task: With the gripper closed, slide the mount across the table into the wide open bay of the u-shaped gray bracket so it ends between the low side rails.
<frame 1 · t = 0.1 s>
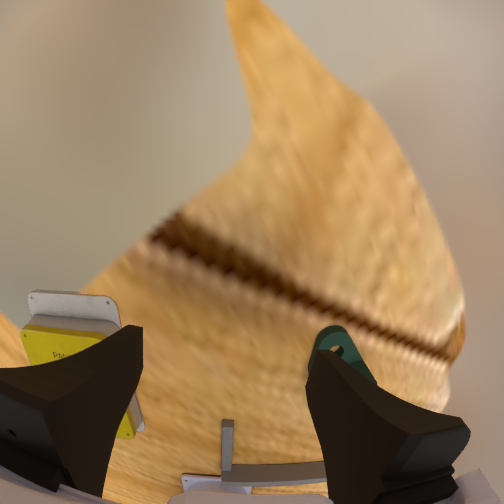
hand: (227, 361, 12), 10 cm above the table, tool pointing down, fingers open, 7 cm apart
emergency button: (88, 365, 24), on the table
mount: (334, 376, 25), on the table
u-shaped gray bracket: (317, 437, 26), on the table
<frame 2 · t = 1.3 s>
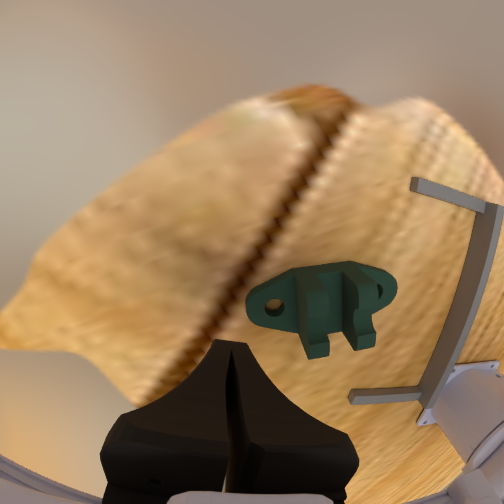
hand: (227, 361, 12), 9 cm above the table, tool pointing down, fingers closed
mount: (321, 292, 22), on the table
u-shaped gray bracket: (413, 304, 22), on the table
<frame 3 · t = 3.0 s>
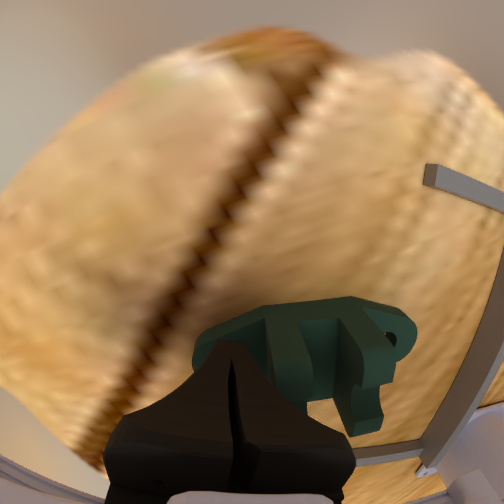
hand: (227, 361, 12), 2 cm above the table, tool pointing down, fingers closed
mount: (307, 340, 15), on the table, touching gripper
u-shaped gray bracket: (421, 347, 15), on the table
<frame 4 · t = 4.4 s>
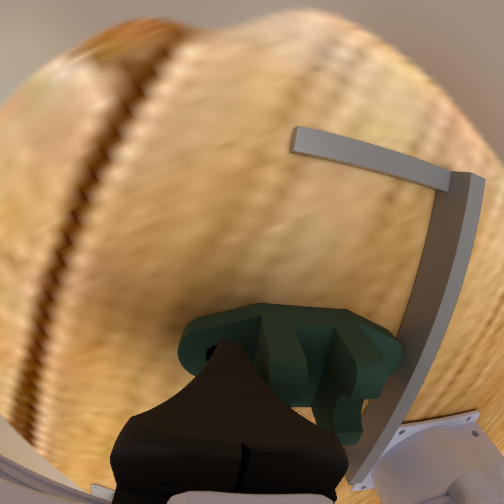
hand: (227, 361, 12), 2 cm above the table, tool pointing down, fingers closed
mount: (295, 346, 15), on the table, touching gripper, u-shaped gray bracket
u-shaped gray bracket: (316, 344, 14), on the table
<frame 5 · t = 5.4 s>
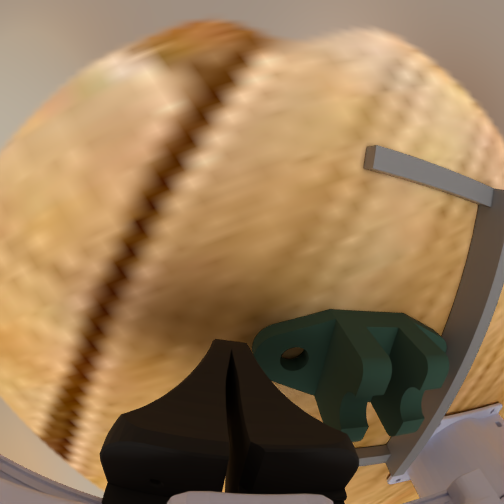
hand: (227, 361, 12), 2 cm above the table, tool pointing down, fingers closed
mount: (355, 346, 15), on the table
u-shaped gray bracket: (375, 346, 15), on the table
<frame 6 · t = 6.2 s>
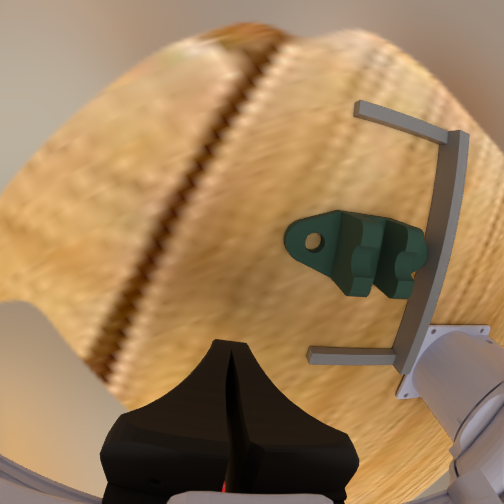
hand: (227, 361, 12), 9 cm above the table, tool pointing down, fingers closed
mount: (357, 243, 21), on the table
u-shaped gray bracket: (372, 243, 21), on the table
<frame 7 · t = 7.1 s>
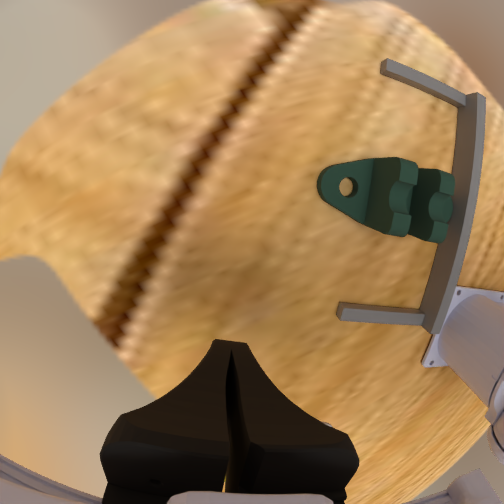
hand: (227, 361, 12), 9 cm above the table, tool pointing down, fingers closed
mount: (386, 195, 20), on the table
u-shaped gray bracket: (401, 195, 20), on the table
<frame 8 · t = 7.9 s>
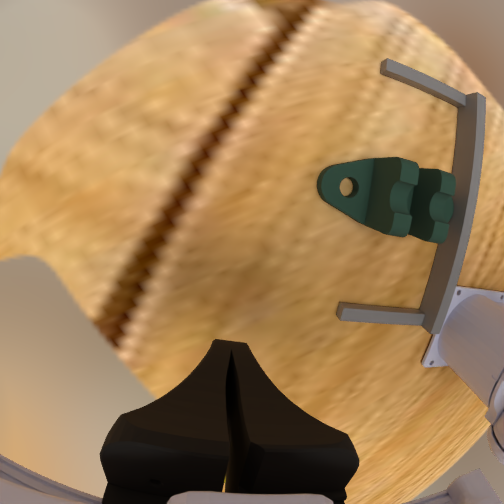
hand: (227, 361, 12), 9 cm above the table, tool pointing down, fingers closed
mount: (387, 195, 20), on the table
u-shaped gray bracket: (401, 195, 20), on the table
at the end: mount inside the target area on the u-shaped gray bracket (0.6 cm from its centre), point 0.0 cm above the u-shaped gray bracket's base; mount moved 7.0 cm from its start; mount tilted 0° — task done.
